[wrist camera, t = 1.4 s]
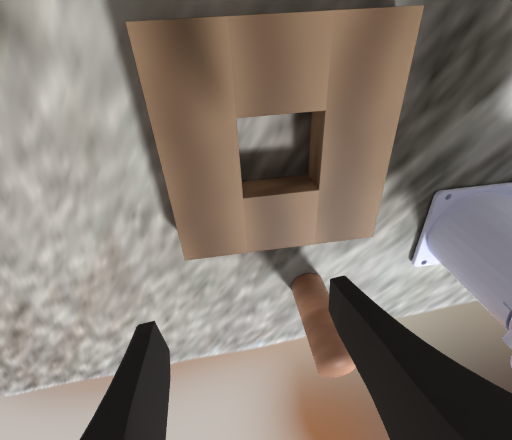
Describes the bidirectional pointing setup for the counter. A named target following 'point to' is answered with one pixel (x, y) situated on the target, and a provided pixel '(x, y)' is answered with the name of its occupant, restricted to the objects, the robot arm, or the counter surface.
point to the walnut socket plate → (273, 103)
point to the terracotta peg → (320, 326)
